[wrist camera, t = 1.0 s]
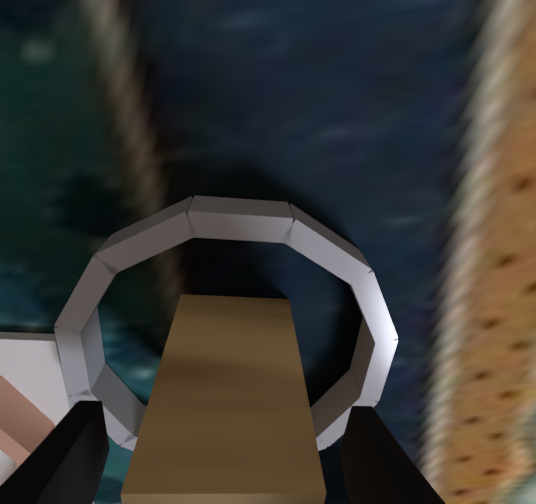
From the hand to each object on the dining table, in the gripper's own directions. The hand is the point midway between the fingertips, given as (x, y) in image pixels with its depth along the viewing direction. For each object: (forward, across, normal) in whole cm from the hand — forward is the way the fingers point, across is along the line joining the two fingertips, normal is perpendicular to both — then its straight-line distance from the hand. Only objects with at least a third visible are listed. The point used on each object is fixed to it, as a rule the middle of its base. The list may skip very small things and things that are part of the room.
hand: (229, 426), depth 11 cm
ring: (+4, 0, 0) cm, 4 cm away
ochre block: (+4, 0, 0) cm, 4 cm away
